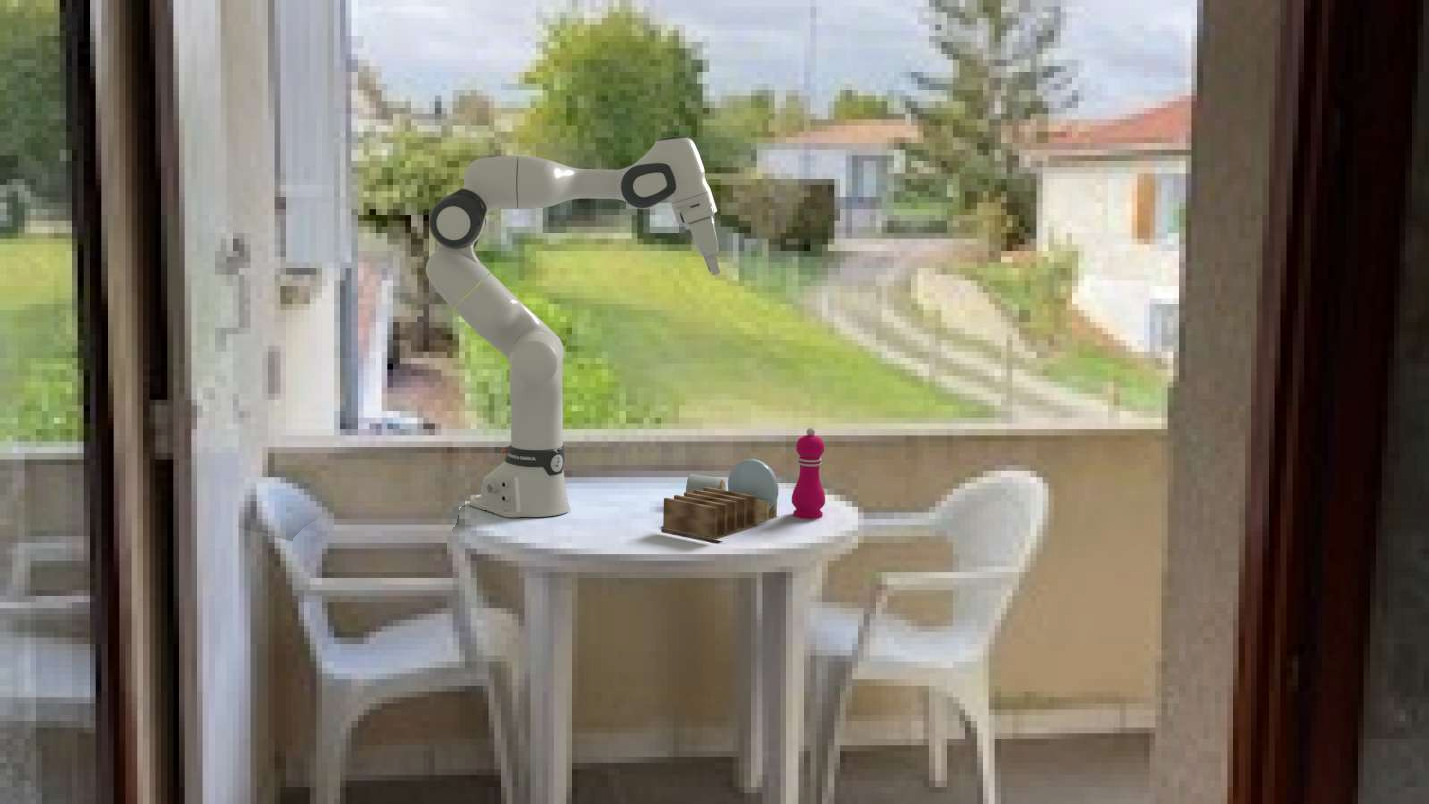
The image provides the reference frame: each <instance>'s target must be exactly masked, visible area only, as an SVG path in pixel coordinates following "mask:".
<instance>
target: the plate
mask: <svg viewBox="0 0 1429 804" xmlns="http://www.w3.org/2000/svg"><path fill="white" fill-rule="evenodd" d="M727 491H731V492H737V493H742V494H748V495H753V496H756V499H759V500H765V501H769V511H770V510H771V509H772V508H773V507H774V505H775V503H776V501H777V502H778V497H779V483H778V479H777V477H776V474H775V472H774V471H773V469H772V468H771V467H770V466H769V465H768V464H767V463H765V462H763V461H762V460H759V459H756V458H754V459H753V458H751V459H750V458H749V459H746V460H742V461H739V462H738V463H736V465H735V466H734V467H732V469H731V471H730V473H729V475H728V479H727Z"/></svg>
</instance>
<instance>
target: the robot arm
mask: <svg viewBox="0 0 1429 804" xmlns="http://www.w3.org/2000/svg"><path fill="white" fill-rule="evenodd" d="M705 173H706V172H705V167H704V163H703V162H702V159H701V155H700V153H699V151H698V149H697V146H696V144H695V143H694V140H692V139H691V138H690V137H687V136H685V135H676V136H668V137H667V136H666V137H662V138H659V139H657V140H656V141H655V142H654V144H653V146H652V147H651V148H650V150H648V151H647V152H646V153H645V154H644V155H643V156H642V157H641V158H640V159H639V160H637V161H636V162H633V163H632V164H629V165H627V166H624V167H622V168H618V169H617V168H615V169H597V168H596V169H594V168H576V167H572V166H569V165H566V164H562V163H560V162H558V161H557V162H556V161H553V160H551V159H545V158H542V157H535V156H528V155H500V156H499V155H498V156H491V157H484V158H479V159H475V160H473V161H472V162H471V163H470V164H469V165H468V167H467V168H466V171H465V174H464V181H463V182H464V184H463V188H460V189H458V190H457V191H454V192H452V193H451V194H448V195H445V196H444V197H442V198H441V199H440V200H439V201H438V202H436V203H435V204H434V206H433V207H432V209H431V210H430V213H429V217H428V225H429V230H430V233H431V234H432V236H433V238H434V239H435V240H436V241H437V243H438V245H437V248H436V250H434V252H433V253H432V254H431V255H430V256H429V258H428V261H427V262H426V266H425V274H426V277H427V278H428V280H429V281H430V283H431V285H433V287H434V288H435V290H436V291H437V293H438V294H439V295H440V296H441V297H442V299H443V300H444V301H445V302H446V303H447V304H448V305H449V306H450V307H451V308H452V309H453V311H455V313H456V314H458V316H460V317H461V318H462V320H464V322H466V324H468V325H469V326H470V328H471V329H473V331H474V332H476V333H477V335H478V336H480V337H481V338H483V339H484V340H486V342H488V343H489V344H490V345H491V346H493V347H494V348H495V349H496V350H497V351H499V352H500V353H501V354H502V355H503V356H504V357H505V358H507V360H508V363H509V393H510V394H509V395H510V396H509V397H510V445H509V446H506V447H502V448H501V450H503V451H501V454H506V455H505V458H504V460H503V462H502V463H501V464H499V465H498V466H497V467H496V468H495V469H493V470H492V471H490V472H489V473H488V474H486V475H485V476H484V478H483V480H482V482H481V489H480V496H476V497H474V498H472V499H471V500H470V501H469V506H471V507H473V508H476V509H480V510H484V511H485V510H488V511H487V512H489V511H490V512H489V513H492V512H493V513H492V514H494V515H498V516H500V517H504V518H522V517H523V518H525V517H527V518H541V517H542V518H543V517H544V518H545V517H552V516H554V517H555V516H559V515H563V514H565V513H568V512H569V511H570V510H571V508H570V505H569V501H568V500H569V499H568V496H567V495H568V494H567V488H566V479H565V471H564V466H565V462H566V451H565V448H566V447H565V445H564V444H563V443H564V441H563V440H564V439H563V438H564V437H563V436H564V434H563V433H564V432H563V431H564V430H563V429H564V405H563V404H564V402H563V401H564V398H563V393H564V392H563V364H564V363H563V362H564V355H565V351H564V345H563V343H562V340H561V339H560V337H559V336H558V335H557V334H556V333H555V332H554V331H553V330H552V329H551V328H550V327H549V326H548V325H546V323H544V321H542V320H541V319H540V317H538V316H537V315H536V314H535V313H534V312H532V311H531V309H529V308H528V307H527V306H526V305H524V304H523V303H522V302H521V301H520V300H519V299H518V298H517V297H515V295H514V294H513V293H511V291H509V289H508V288H507V287H506V286H505V285H504V284H503V283H502V282H501V281H500V280H499V279H498V278H497V277H496V276H495V275H494V274H493V273H491V271H490V270H489V269H488V268H487V267H486V266H485V265H484V264H483V263H482V262H481V261H480V260H479V258H478V256H477V255H476V253H475V251H474V249H475V247H476V246H477V244H478V243H479V240H480V238H481V237H482V235H483V233H484V231H485V228H486V225H487V224H486V223H487V216H488V214H490V213H492V212H493V211H497V210H537V209H545V208H548V207H553V206H556V205H559V204H561V203H564V202H567V201H572V200H579V199H591V200H592V199H595V200H596V199H597V200H599V199H600V200H602V199H603V200H604V199H605V200H606V199H607V200H609V199H610V200H618V201H622V202H624V203H626V204H628V205H629V206H631V207H634V208H636V209H640V210H648V209H652V208H654V207H656V206H658V204H660V203H661V202H662V201H664V200H666V199H668V200H669V201H670V204H671V207H672V212H673V214H674V218H675V221H676V224H677V225H681V224H683V226H684V229H685V230H686V231H687V230H689V231H690V232H691V234H692V238H693V242H694V245H695V248H696V250H697V252H698V253H699V254H700V255H701V256H702V257H703V260H704V262H705V264H706V266H707V270H708V272H710V274H711V275H712V276H717V275H719V274H720V273H721V270H720V267H719V263H718V262H719V261H718V257H717V255H716V254H717V253H719V244H718V242H719V241H718V238H717V237H718V236H717V233H716V227H715V223H714V221H715V219H714V216H715V214H716V213H717V212H718V209H717V205H716V203H715V200H714V199H715V198H714V196H713V194H712V190H711V188H710V186H709V184H708V183H707V179H706V174H705Z"/></svg>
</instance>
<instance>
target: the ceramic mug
mask: <svg viewBox="0 0 1429 804" xmlns="http://www.w3.org/2000/svg"><path fill="white" fill-rule="evenodd" d="M726 485H727V484H726V481H725V480H724V479H722V478H720V477H715V476H714V477H713V476H706V475H698V474H695V473H694V474H692V473H690V474H689V475H688V477H687V480H686V487H685V492H688V493H694V490H702V491H703V487H709V488H715V489H720V490H726V491H727V487H726Z"/></svg>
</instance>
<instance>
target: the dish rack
mask: <svg viewBox="0 0 1429 804" xmlns="http://www.w3.org/2000/svg"><path fill="white" fill-rule="evenodd" d="M662 517H663V518H662V520H663V521H662V522H663V523H662V525H663V526H662V525H661V529H660V531H661V533H663V534H668V535H673V536H678V537H682V538H687V539H693V540H698V541H702V542H707V543H709V544H716V545H718V544H720V543H723V542H724V541H723V540H718V539H721V538H724V537H727V536H730V535H733V534H737V533H739V532H742V531H743V532H744V531H746V530H748V529H751V528H755V527H758V524H756V521H757V520H756V496H753V495H748V494H742V493H737V492H731V491H728V490H727V489H726V490H720V489H715V488H709V487H703V491H702V490H694V493H688V492H686V491H685V492H683V495H679V494H674V495H673V498H670V497H663V516H662Z"/></svg>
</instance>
